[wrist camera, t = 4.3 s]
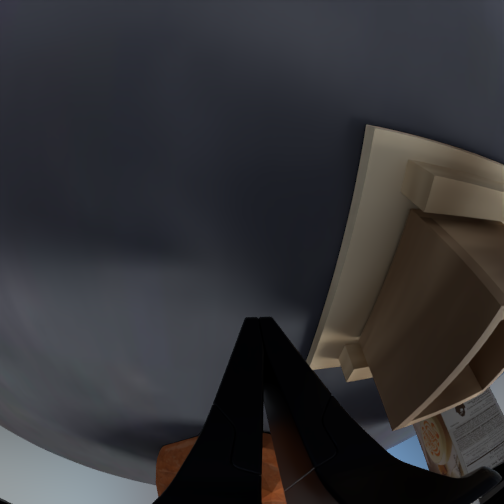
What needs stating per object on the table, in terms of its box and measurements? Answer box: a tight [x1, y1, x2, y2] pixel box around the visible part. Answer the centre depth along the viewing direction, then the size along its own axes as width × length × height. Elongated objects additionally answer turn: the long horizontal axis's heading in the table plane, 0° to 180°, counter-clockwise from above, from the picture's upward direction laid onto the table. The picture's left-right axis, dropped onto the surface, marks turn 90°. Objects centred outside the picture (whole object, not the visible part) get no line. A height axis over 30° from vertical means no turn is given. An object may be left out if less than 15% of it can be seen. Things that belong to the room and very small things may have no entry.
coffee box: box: [413, 387, 504, 478], centre depth 16 cm, size 9×6×16 cm
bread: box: [156, 433, 287, 504], centre depth 23 cm, size 16×27×11 cm, turn 43°
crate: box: [358, 209, 504, 431], centre depth 9 cm, size 6×7×5 cm
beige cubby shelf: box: [306, 124, 504, 382], centre depth 11 cm, size 20×12×3 cm, turn 87°
